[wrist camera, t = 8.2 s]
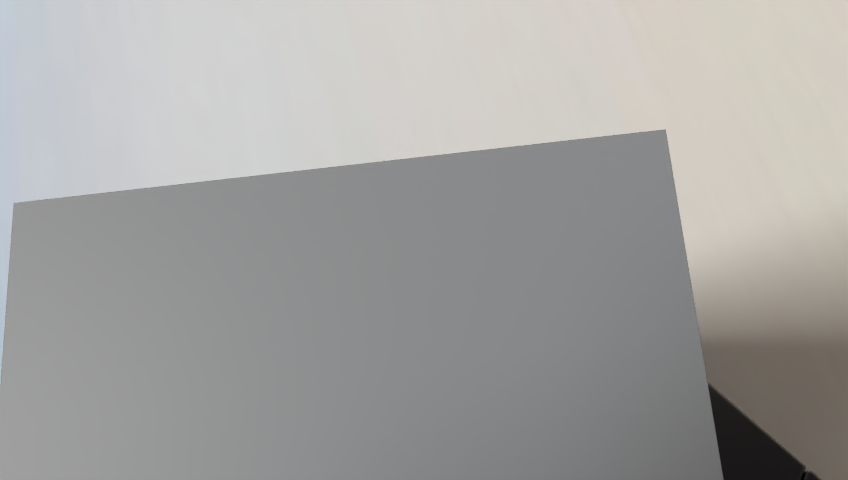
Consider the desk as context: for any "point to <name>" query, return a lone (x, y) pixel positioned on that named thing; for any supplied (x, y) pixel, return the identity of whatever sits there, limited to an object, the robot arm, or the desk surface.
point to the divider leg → (363, 324)
